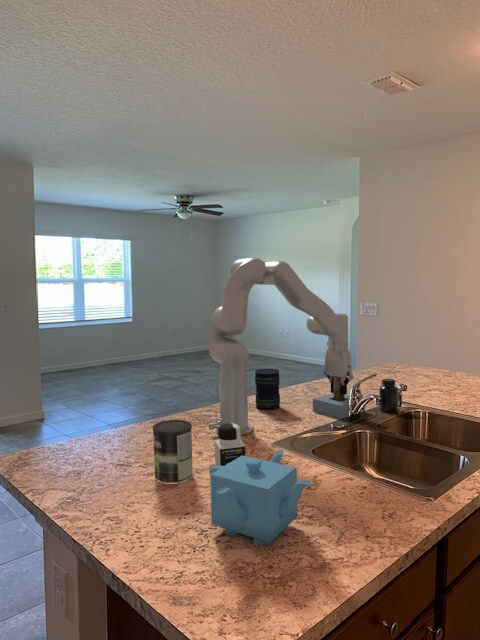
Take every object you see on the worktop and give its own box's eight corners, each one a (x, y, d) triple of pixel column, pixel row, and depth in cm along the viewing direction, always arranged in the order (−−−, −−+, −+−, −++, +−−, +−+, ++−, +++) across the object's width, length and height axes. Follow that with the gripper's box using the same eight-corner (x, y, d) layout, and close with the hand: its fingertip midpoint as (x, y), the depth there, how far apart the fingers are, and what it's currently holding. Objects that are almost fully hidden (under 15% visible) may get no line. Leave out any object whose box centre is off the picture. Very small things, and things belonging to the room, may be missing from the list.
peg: (339, 405, 178) (339, 374, 177) (331, 403, 181) (331, 373, 180) (346, 403, 180) (346, 373, 179) (338, 401, 184) (337, 371, 182)
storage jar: (284, 409, 186) (283, 372, 185) (261, 412, 183) (261, 374, 181) (273, 403, 196) (272, 367, 194) (251, 406, 192) (250, 369, 191)
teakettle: (206, 513, 106) (204, 449, 105) (286, 502, 110) (284, 441, 109) (220, 562, 88) (217, 486, 86) (315, 547, 92) (314, 474, 90)
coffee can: (158, 488, 119) (156, 434, 118) (151, 472, 129) (149, 422, 128) (198, 480, 123) (196, 428, 122) (188, 466, 133) (186, 417, 131)
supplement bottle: (395, 407, 184) (396, 377, 183) (400, 413, 177) (400, 381, 176) (377, 407, 185) (377, 377, 183) (381, 413, 178) (381, 381, 177)
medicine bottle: (220, 473, 127) (219, 430, 126) (214, 463, 134) (213, 422, 133) (246, 470, 129) (244, 427, 128) (239, 460, 136) (238, 420, 135)
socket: (341, 419, 171) (341, 406, 171) (312, 411, 182) (312, 398, 182) (365, 411, 180) (365, 398, 179) (336, 404, 191) (336, 392, 190)
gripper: (315, 345, 183) (315, 391, 185) (349, 349, 170) (350, 399, 171) (328, 343, 187) (328, 388, 189) (362, 347, 174) (362, 395, 176)
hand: (338, 393), depth 180 cm, fingers closed on peg, 4 cm apart
